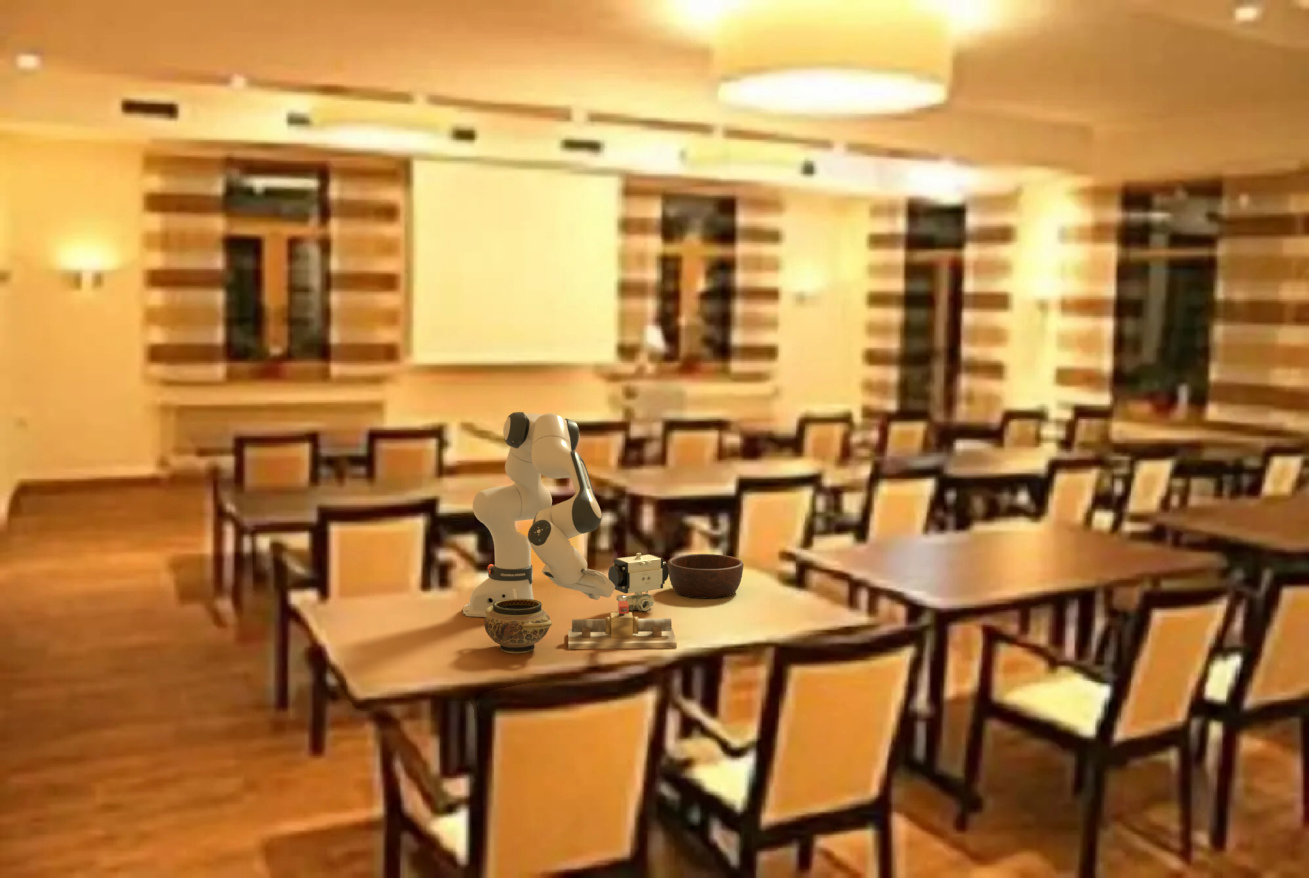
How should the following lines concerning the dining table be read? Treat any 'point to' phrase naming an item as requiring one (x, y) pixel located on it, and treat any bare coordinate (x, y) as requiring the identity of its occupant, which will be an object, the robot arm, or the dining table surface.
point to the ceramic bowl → (516, 624)
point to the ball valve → (639, 578)
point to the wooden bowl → (705, 575)
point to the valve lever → (622, 604)
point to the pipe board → (621, 643)
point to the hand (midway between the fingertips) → (595, 597)
